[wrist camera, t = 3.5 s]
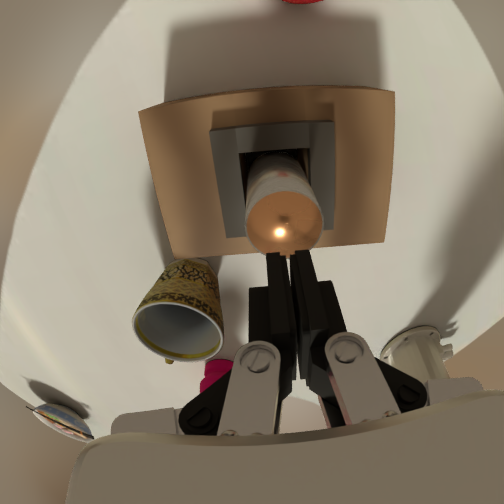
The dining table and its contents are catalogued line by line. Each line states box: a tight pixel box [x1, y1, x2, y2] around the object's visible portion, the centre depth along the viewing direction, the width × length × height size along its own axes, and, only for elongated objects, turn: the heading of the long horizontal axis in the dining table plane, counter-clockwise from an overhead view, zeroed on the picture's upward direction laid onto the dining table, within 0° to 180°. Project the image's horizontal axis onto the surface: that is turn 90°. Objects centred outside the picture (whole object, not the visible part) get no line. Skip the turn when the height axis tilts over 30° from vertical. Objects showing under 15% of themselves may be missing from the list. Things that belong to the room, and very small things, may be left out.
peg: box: [245, 151, 324, 259], centre depth 19 cm, size 4×4×8 cm
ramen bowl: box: [26, 403, 94, 443], centre depth 68 cm, size 25×23×8 cm
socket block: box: [138, 85, 395, 259], centre depth 25 cm, size 20×14×8 cm
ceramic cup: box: [132, 258, 224, 364], centre depth 34 cm, size 13×10×10 cm
